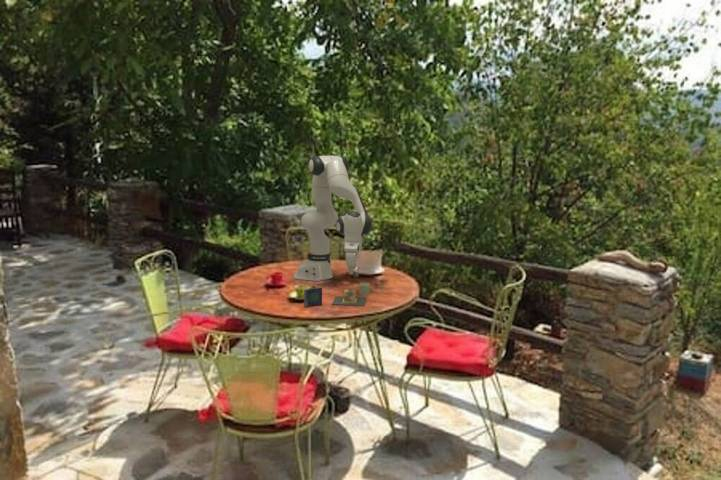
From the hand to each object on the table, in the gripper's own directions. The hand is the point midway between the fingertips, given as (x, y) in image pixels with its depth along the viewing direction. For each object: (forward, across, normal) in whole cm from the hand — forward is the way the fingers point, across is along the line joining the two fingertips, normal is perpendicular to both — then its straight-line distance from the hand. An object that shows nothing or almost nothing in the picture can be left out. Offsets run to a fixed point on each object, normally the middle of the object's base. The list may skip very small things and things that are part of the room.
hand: (352, 271), depth 292 cm
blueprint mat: (+14, +4, -1) cm, 15 cm away
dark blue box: (+15, +13, -17) cm, 26 cm away
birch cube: (+14, +4, -1) cm, 14 cm away
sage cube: (+14, -11, +5) cm, 19 cm away
